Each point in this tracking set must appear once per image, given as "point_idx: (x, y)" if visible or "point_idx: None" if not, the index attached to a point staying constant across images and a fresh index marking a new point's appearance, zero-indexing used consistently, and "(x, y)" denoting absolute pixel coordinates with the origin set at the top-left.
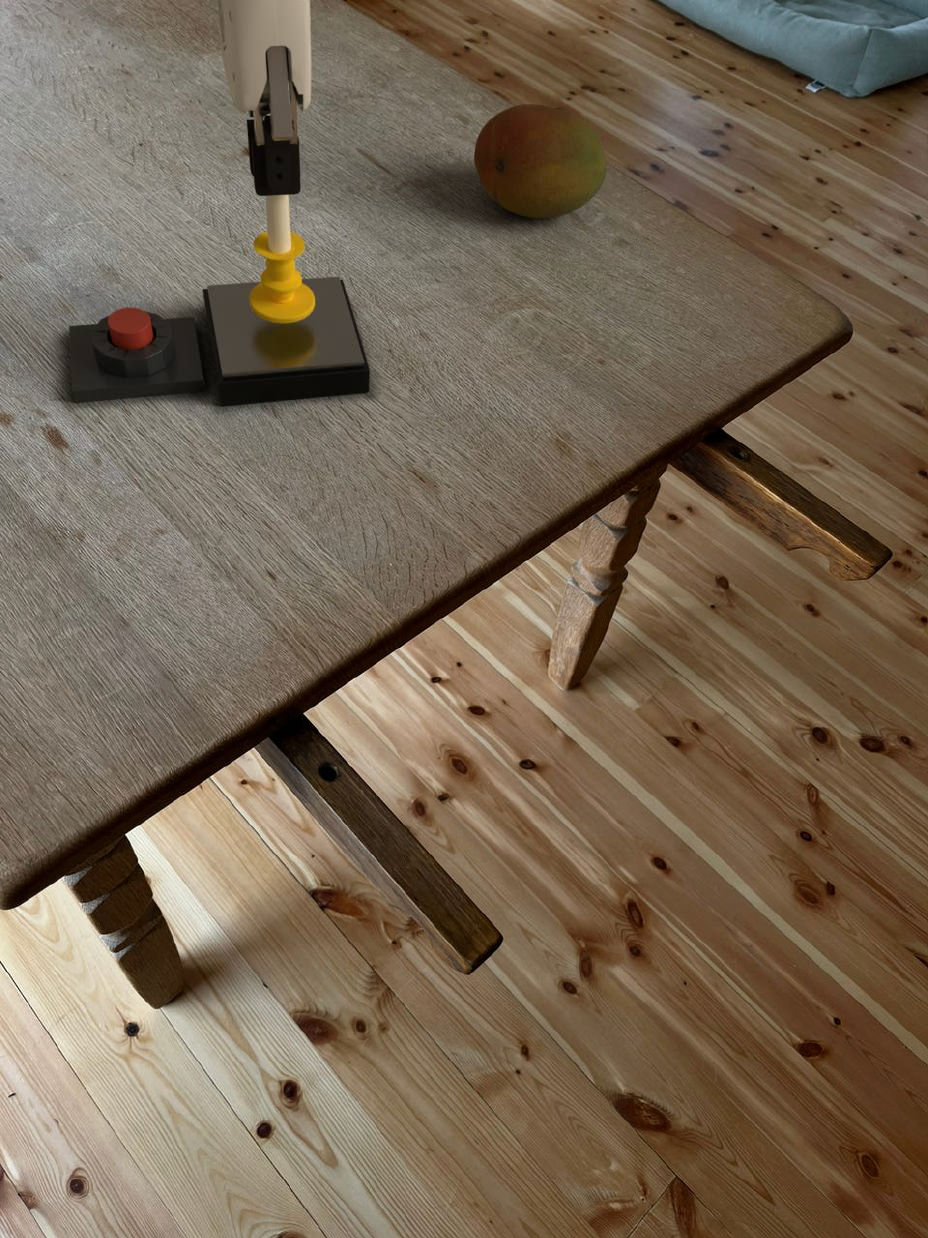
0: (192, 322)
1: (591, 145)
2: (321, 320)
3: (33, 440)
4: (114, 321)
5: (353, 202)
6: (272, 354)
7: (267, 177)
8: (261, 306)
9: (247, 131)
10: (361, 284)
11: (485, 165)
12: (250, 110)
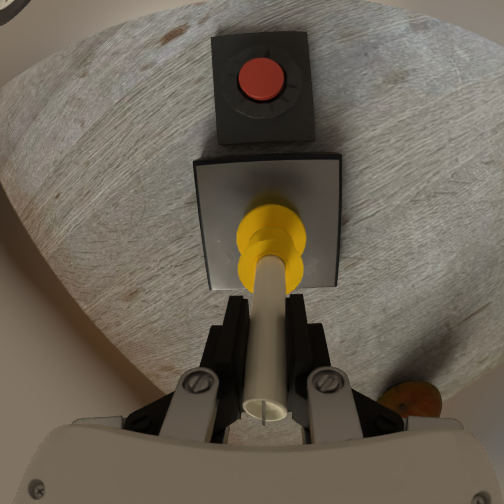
0: (305, 138)
1: None
2: None
3: (173, 21)
4: (259, 63)
5: (446, 295)
6: (221, 214)
7: (209, 335)
8: (257, 217)
9: (307, 342)
10: (352, 291)
11: (413, 396)
12: (308, 385)
